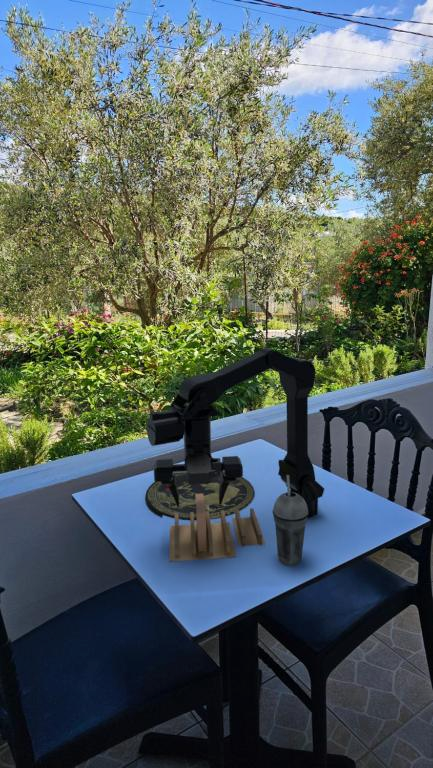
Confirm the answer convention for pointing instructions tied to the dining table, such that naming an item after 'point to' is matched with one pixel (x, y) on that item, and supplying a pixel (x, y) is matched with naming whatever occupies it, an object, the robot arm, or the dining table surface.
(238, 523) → the holder
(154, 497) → the decorative plate
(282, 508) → the beverage cup
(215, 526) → the rack
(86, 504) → the dining table surface
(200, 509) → the wooden block
